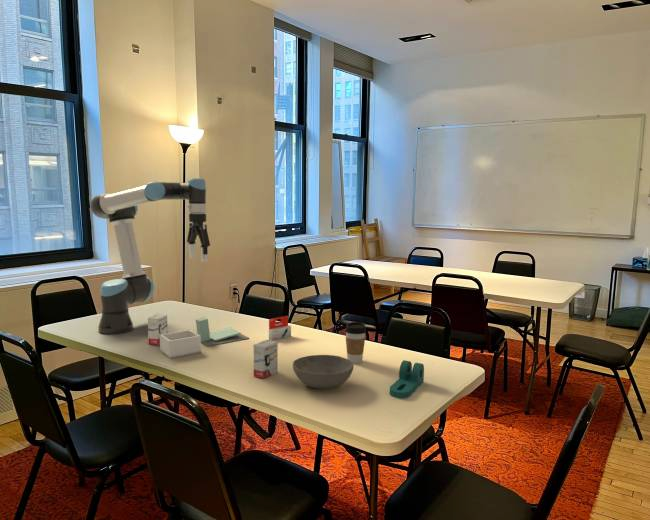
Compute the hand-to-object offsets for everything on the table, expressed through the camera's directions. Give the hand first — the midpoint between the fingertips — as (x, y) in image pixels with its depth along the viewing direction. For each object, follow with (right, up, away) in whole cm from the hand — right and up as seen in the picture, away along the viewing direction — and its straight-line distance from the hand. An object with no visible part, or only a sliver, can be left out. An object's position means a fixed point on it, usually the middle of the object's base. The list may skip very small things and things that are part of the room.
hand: (198, 259), depth 226 cm
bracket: (+85, -45, -56) cm, 111 cm away
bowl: (+57, -44, -54) cm, 90 cm away
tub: (-2, -38, -21) cm, 44 cm away
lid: (+10, -35, -3) cm, 36 cm away
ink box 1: (-15, -36, -9) cm, 40 cm away
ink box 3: (+37, -36, 0) cm, 52 cm away
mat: (+11, -35, -2) cm, 37 cm away
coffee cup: (+70, -40, -29) cm, 86 cm away
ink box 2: (+36, -42, -45) cm, 71 cm away
